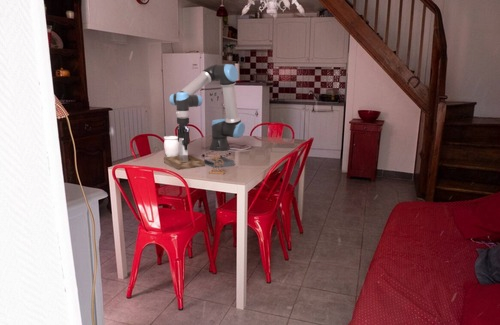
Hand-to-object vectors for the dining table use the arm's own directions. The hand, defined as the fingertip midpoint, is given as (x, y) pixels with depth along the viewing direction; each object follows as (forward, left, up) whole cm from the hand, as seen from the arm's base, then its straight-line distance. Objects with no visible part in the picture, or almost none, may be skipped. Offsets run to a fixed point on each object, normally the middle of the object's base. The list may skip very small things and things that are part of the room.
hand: (183, 154), depth 240 cm
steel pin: (0, 0, -5) cm, 5 cm away
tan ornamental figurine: (-7, +30, -7) cm, 32 cm away
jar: (-1, -20, -7) cm, 21 cm away
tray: (0, 0, -7) cm, 7 cm away
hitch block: (-19, +12, -7) cm, 23 cm away
